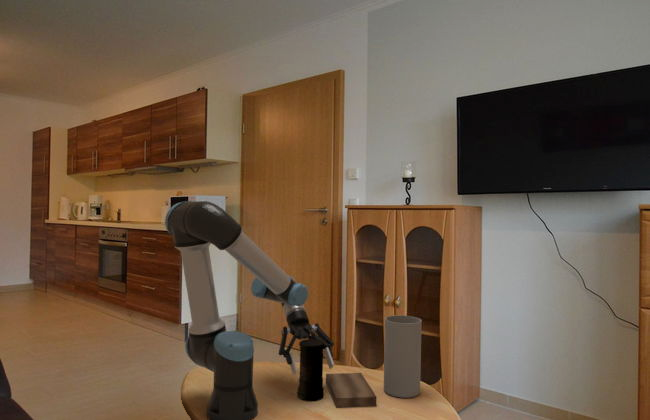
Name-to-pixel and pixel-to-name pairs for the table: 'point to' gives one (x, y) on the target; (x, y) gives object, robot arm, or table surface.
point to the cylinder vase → (402, 356)
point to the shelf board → (350, 390)
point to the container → (311, 370)
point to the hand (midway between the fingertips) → (314, 369)
